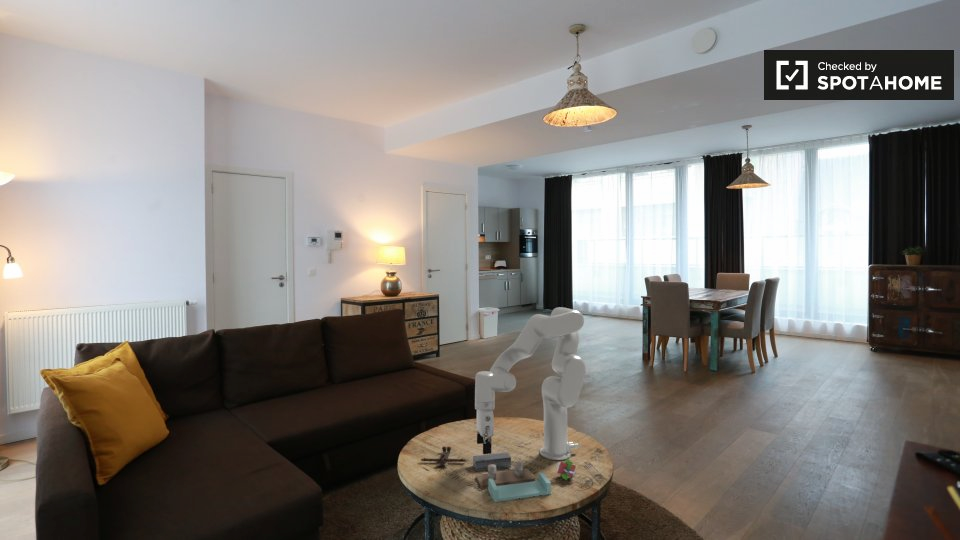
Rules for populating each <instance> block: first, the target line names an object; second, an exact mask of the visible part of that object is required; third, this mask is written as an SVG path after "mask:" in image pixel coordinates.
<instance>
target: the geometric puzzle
mask: <svg viewBox="0 0 960 540" xmlns="http://www.w3.org/2000/svg"><path fill="white" fill-rule="evenodd" d="M564 460H565V461H564ZM564 460H560V461H558V462H557V463H556V465H555V471H556V473H557V474H558V475H559V476H560V477H562V479H564V480H565V481H566V482H568V481H569V480H570V479H571V478H573V477H575V475H576V474H577V472H576V471H575V470H576V466H577V465H575V464H574V462H572V461H571V460H569V458H566V459H564ZM563 461H564V462H563ZM569 477H570V478H569ZM568 478H569V479H568Z"/></svg>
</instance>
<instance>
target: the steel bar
mask: <svg viewBox="0 0 960 540" xmlns="http://www.w3.org/2000/svg"><path fill="white" fill-rule="evenodd" d="M490 464H494V465H496V469H503V468H512V456H511V455H510V454H509V452H501V453H491V454H481V455H472V466H473V468H474V470H475V471H485V470H486V471H488V465H490Z"/></svg>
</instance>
